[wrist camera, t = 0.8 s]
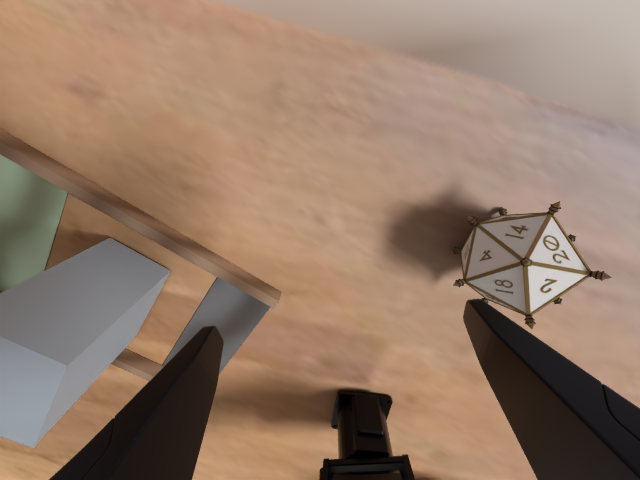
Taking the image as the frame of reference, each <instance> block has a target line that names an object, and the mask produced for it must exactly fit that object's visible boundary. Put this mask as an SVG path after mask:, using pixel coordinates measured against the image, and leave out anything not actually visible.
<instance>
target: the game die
mask: <svg viewBox="0 0 640 480" xmlns="http://www.w3.org/2000/svg"><path fill="white" fill-rule="evenodd" d="M559 209H561V208H560V201H559V202H557V203H555V204H551V207H550V208H549V211H548V212H546V213H529V214H513V215H506V214H507V212H506V211H507V210H506V209H504V208H502V207H501V209H500V210H499V212H500V213H499V214H500V215H501V216H499V217H496V218H492V219H489V220H485V221H482V222H477V219H475V218H474V217H470V216H468V222H469V223H470V224H472V225H474V227H473V229H472V231H471V233H470V235H469V236H468V238H467V240H466V242H465V244H464V246H463V247H462V249H459V248H456V247H455V248H454V249H452V251H453V252H454V254H455V253H457V254H459V253H461V261H462V271H463V279H459V280H456V282H455V284H454V285H453V286H458V287H460V286H463V285H464V284H465V283H466V284H467V285H469V286H470V287H471V288H473V289H474V290H475V291H476V292H478V293H479V294H480V295H482V296H483V297H484V298H482V299H481V300H483V301H484V302H486V303H488V300H489V301H492V302H494V303H497V304H499V305H501V306H504V307H506V308H509V309H511V310H513V311H516V312H518V313H521V314H523V315H525V316H526V318H525V319H524V320H526V323H525V324H527V325H528V326H529V327H530V328H531V329H533V327H534V325H535V324H536V323H535V322H534V319H533V318H532V315H533V314H535V313H536V312H538V311H539V310H541V309H542V308H544V307H545V306H547V305H548V304H550V303H551V302H554V303H555V304H561V301H562V299H560V296H562V295H563V294H565V293H566V292H568V291H569V290H571V289H572V288H574V287H575V286H577V285H578V284H580V283H581V282H583V281H584V280H586V279H587V278H589V277H594V278H595V279H601V281H602V280H604V279H608V278H612V277H610V276H609V275H607V274H606V273H604V271H603V272H599V271H594V272H593V271H591V270H590V269H589V267H588V266H587V264H586V263H585V261H584V260H583V258H582V257H581V255H580V254H579V252H578V251H577V249H576V248H575V246H574V245H573V243H572V241H575V238H576V236H573V235H571V234H570V235H569V236H567V234H566V233H565V231H564V230H563V228H562V227H561V225H560V224H559V222H558V220H557V219H556V217H555V216H554V213H556V212H558V210H559Z"/></svg>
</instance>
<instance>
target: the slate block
mask: <svg viewBox="0 0 640 480" xmlns="http://www.w3.org/2000/svg"><path fill="white" fill-rule="evenodd" d="M170 272H171V271H170V270H168V269H166V268H165V267H163V266H161V265H159V264H157V263H155V262H154V261H152V260H150V259H148V258H146V257H144V256H143V255H141V254H139V253H137V252H135V251H134V250H132V249H130V248H128V247H126V246H124V245H123V244H121V243H119V242H117V241H115V240H113V239H112V238H108V239H106V240H104V241H102V242H100V243H98V244H96V245H94V246H92V247H90V248H88V249H86V250H84V251H82V252H80V253H78V254H76V255H74V256H73V257H71V258H69V259H67V260H65V261H63V262H61V263H59V264H57V265H55V266H53V267H51V268H49V269H47V270H45V271H43V272H41V273H39V274H37V275H35V276H33V277H31V278H29V279H27V280H25V281H23V282H21V283H20V284H18V285H16V286H14V287H12V288H10V289H8V290H6V291H4V292H2V293H0V436H1V437H4V438H6V439H9V440H12V441H15V442H17V443H20V444H23V445H26V446H28V447H31V448H34V447H35V445H36V444H37V443H38V442H39V441H40V440H41V439H42V438H43V437H44V436H45V435H46V434H47V432H48V431H49V430H50V429H51V428H52V427H53V426H54V425H55V424H56V423H57V422H58V420H59V419H60V418H61V417H62V416H63V415H64V414H65V413H66V412H67V411H68V410H69V408H70V407H71V406H72V405H73V404H74V403H75V402H76V401H77V400H78V399H79V398H80V397H81V395H82V394H83V393H84V392H85V391H86V390H87V389H88V388H89V387H90V386H91V385H92V383H93V382H94V381H95V380H96V379H97V378H98V377H99V376H100V375H101V374H102V373H103V372H104V370H105V369H106V368H107V367H108V366H109V365H110V364H111V363H112V362H113V361H114V360H115V358H116V357H117V356H118V355H119V354H120V353H121V352H122V351H123V350H124V349H125V348H126V346H127V345H128V344H129V343H130V342H131V341H132V340H133V339H134V338H135V337H136V335H137V334H138V332H139V330H140V328H141V326H142V324H143V322H144V320H145V319H146V317H147V315H148V313H149V311H150V309H151V307H152V305H153V304H154V302H155V300H156V298H157V296H158V294H159V292H160V290H161V289H162V287H163V285H164V283H165V281H166V279H167V277H168V275H169V274H170Z"/></svg>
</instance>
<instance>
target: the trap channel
mask: <svg viewBox="0 0 640 480" xmlns="http://www.w3.org/2000/svg"><path fill="white" fill-rule="evenodd" d="M68 193H70V194H71V195H73V196H75V197H77V198H78V199H80V200H82V201H84V202H86V203H87V204H89V205H91V206H93V207H94V208H96V209H98V210H100V211H102V212H103V213H105V214H107V215H109V216H110V217H112V218H114V219H116V220H117V221H119V222H121V223H123V224H125V225H126V226H128V227H130V228H132V229H133V230H135V231H137V232H139V233H141V234H142V235H144V236H146V237H148V238H149V239H151V240H153V241H155V242H157V243H158V244H160V245H162V246H164V247H165V248H167V249H169V250H171V251H172V252H174V253H176V254H178V255H180V256H181V257H183V258H185V259H187V260H188V261H190V262H192V263H194V264H196V265H197V266H199V267H201V268H203V269H204V270H206V271H208V272H210V273H212V274H213V275H215V276H217V279H216V281H215V282H214V284H213V285H212V287H211V289H210V290H209V292H208V293H207V295H206V297H205V298H204V300H203V301H202V303H201V305H200V306H199V308H198V309H197V311H196V313H195V314H194V316H193V317H192V319H191V321H190V322H189V324H188V325H187V327H186V329H185V330H184V332H183V333H182V335H181V337H180V338H179V340H178V341H177V343H176V345H175V346H174V348H173V349H172V351H171V353H170V354H169V356H168V357H167V359H166V361H165V362H164V364H163V365H160V364H157V363H155V362H153V361H151V360H149V359H147V358H145V357H142V356H140V355H138V354H136V353H134V352H132V351H130V350H127V349H124V350H123V351H122V352H121V353H120V354H119V355H118V356H117V357H116V358H115V360H114V361H113V362H112V363H111V364H113V365H115V366H117V367H119V368H122V369H124V370H126V371H128V372H130V373H133V374H135V375H137V376H139V377H141V378H144V379H146V380H148V381H150V380H151V379H152V378H153V377H154V376H155V375H156V374H157V373H158V372H159V371H160V370H161V369H162V368H163V367H164V366H165V365H166V364H167V363H168V362H169V361H170V360H171V359H172V358H173V357H174V356H175V355H176V354H177V353H178V352H179V351H180V350H181V349H182V348H183V347H184V346H185V345H186V344H187V343H188V342H189V341H190V340H191V339H192V338H193V337H194V336H195V335H196V334H197V333H198V331H199V330H200V329H201V328H203V327H205V326H212V325H214V326H216V327H217V329H218V331H219V333H220V334H221V336H222V338H223V341H224V345H223V352H222V358H221V364H220V370H219V374H220V372H221V371H222V370H223V368H224V367H225V366H226V364H227V363H228V362H229V360H230V359H231V358H232V357H233V355H234V354H235V353H236V351H237V350H238V349H239V347H240V346H241V345H242V343H243V342H244V341H245V340H246V338H247V337H248V336H249V334H250V333H251V332H252V330H253V329H254V328H255V326H256V325H257V324H258V322H259V321H260V320H261V319H262V317H263V316H264V315H265V313H266V312H267V311H268V309H269V308H270V307H272V308H274V307H275V306H276V304H277V303H278V302H279V299H280V296H281V292H280V291H278V290H277V289H275V288H273V287H272V286H270V285H268V284H266V283H265V282H263V281H261V280H260V279H258V278H256V277H254V276H253V275H251V274H249V273H248V272H246V271H244V270H242V269H241V268H239V267H237V266H235V265H234V264H232V263H230V262H229V261H227V260H225V259H223V258H222V257H220V256H218V255H217V254H215V253H213V252H211V251H210V250H208V249H206V248H205V247H203V246H201V245H199V244H198V243H196V242H194V241H193V240H191V239H189V238H187V237H186V236H184V235H182V234H180V233H179V232H177V231H175V230H174V229H172V228H170V227H168V226H167V225H165V224H163V223H162V222H160V221H158V220H156V219H155V218H153V217H151V216H150V215H148V214H146V213H144V212H143V211H141V210H139V209H138V208H136V207H134V206H132V205H131V204H129V203H127V202H125V201H124V200H122V199H120V198H119V197H117V196H115V195H113V194H112V193H110V192H108V191H107V190H105V189H103V188H101V187H100V186H98V185H96V184H95V183H93V182H91V181H89V180H88V179H86V178H84V177H83V176H81V175H79V174H77V173H76V172H74V171H72V170H70V169H69V168H67V167H65V166H64V165H62V164H60V163H58V162H57V161H55V160H53V159H52V158H50V157H48V156H46V155H45V154H43V153H41V152H40V151H38V150H36V149H34V148H33V147H31V146H29V145H28V144H26V143H24V142H22V141H21V140H19V139H17V138H15V137H14V136H12V135H10V134H9V133H7V132H5V131H3V130H2V129H0V293H2V292H4V291H6V290H8V289H10V288H12V287H14V286H16V285H18V284H20V283H21V282H23V281H25V280H27V279H29V278H31V277H33V276H35V275H37V274H39V273H41V272H43V271H44V270H45V267H46V264H47V260H48V257H49V254H50V250H51V247H52V244H53V240H54V237H55V234H56V231H57V227H58V224H59V221H60V217H61V214H62V211H63V207H64V204H65V201H66V198H67V194H68Z"/></svg>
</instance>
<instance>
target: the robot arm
mask: <svg viewBox="0 0 640 480" xmlns="http://www.w3.org/2000/svg"><path fill="white" fill-rule="evenodd" d="M463 319H464V323H465V326H466V328H467V331H468V334H469V336H470V339H471V342H472V344H473V347H474V350H475V352H476V355H477V358H478V360H479V363H480V365H481V367H482V370H483V372H484V374H485V376H486V378H487V380H488V382H489V384H490V386H491V388H492V390H493V392H494V394H495V396H496V398H497V400H498V402H499V404H500V406H501V407H502V409H503V411H504V413H505V415H506V417H507V419H508V421H509V423H510V425H511V427H512V429H513V431H514V433H515V435H516V437H517V439H518V441H519V443H520V445H521V447H522V449H523V451H524V453H525V455H526V457H527V459H528V461H529V463H530V465H531V467H532V469H533V471H534V473H535V475H536V477H537V479H538V480H640V408H638V407H637V406H635V405H634V404H632V403H631V402H629V401H628V400H626V399H625V398H623V397H622V396H621V395H619V394H618V393H616V392H615V391H613V390H612V389H610V388H609V387H607V386H606V385H604V384H601V382H600V381H599V380H597V379H596V378H594V377H593V376H591V375H590V374H589V373H587V372H586V371H584V370H583V369H581V368H580V367H578V366H577V365H576V364H574V363H573V362H571V361H570V360H568V359H567V358H565V357H564V356H562V355H561V354H560V353H558V352H557V351H555V350H554V349H552V348H551V347H549V346H548V345H547V344H545V343H544V342H542V341H541V340H539V339H538V338H536V337H535V336H534V335H532V334H531V333H529V332H528V331H526V330H525V329H523V328H522V327H521V326H519V325H518V324H516V323H515V322H513V321H512V320H510V319H509V318H508V317H506V316H505V315H503V314H502V313H500V312H499V311H497V310H496V309H495V308H493V307H492V306H490V305H489V304H487V303H486V302H484V301H483V300H481V299H472V300H468V301H467V302H466V306H465V310H464V315H463ZM223 345H224V341H223V338H222V336H221V334H220V333H219V331H218V329H217V327H216V326H214V325H212V326H205V327H203V328H201V329H200V330H199V331H198V333H197V334H196V335H195V336H194V337H193V338H192V339H191V340H190V341H189V342H188V343H187V344H186V345H185V346H184V347H183V348H182V349H181V350H180V351H179V352H178V353H177V354H176V355H175V356H174V357H173V358H172V359H171V360H170V361H169V362H168V363H167V364H166V365H165V366H164V367H163V368H162V369H161V370H160V371H159V372H158V373H157V374H156V375H155V376H154V377H153V378H152V379H151V380H150V381H149V382H148V383H147V384H146V385H145V386H144V387H143V388H142V389H141V390H140V391H139V392H138V393H137V394H136V395H135V397H134V398H133V399H132V400H131V401H130V402H129V403H128V404H127V405H126V406H125V407H124V408H123V409H122V410H121V411H120V412H119V413H118V414H117V415H116V416H115V419H114V418H113V419H112V420H111V421H110V422H109V423H108V424H107V425H106V426H105V427H104V428H103V429H102V430H101V431H100V432H99V433H98V434H97V435H96V436H95V437H94V438H93V439H92V440H91V441H90V442H89V443H88V444H87V445H86V446H85V447H84V448H83V449H82V450H81V451H79V452H78V453H77V454H76V455H75V456H74V457H73V458H72V459H71V460H70V461H69V462H68V463H67V464H66V465H65V466H63V467H62V468H61V469H60V470H59V471H58V472H57V473H56V474H55V475H54V476H53V477H51V478H50V479H49V480H192V477H193V473H194V469H195V466H196V462H197V458H198V455H199V451H200V447H201V443H202V440H203V436H204V432H205V428H206V425H207V421H208V417H209V414H210V410H211V406H212V402H213V399H214V395H215V391H216V387H217V382H218V376H219V370H220V364H221V358H222V352H223ZM391 405H392V398H391V397H390V396H386V395H378V394H369V393H360V392H351V391H339V392H338V394H337V398H336V403H335V408H334V413H333V417H332V422H331V426H332V428H334V429H338V451H339V459H331V460H329V459H324V461H323V468H321V469H320V480H415V479H414V475H413V472H412V468H411V465H410V461H409V458H408V455H402V456H393V454H392V449H391V444H390V438H389V433H388V428H387V423H386V420H387V417H388V414H389V411H390V408H391Z"/></svg>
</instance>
